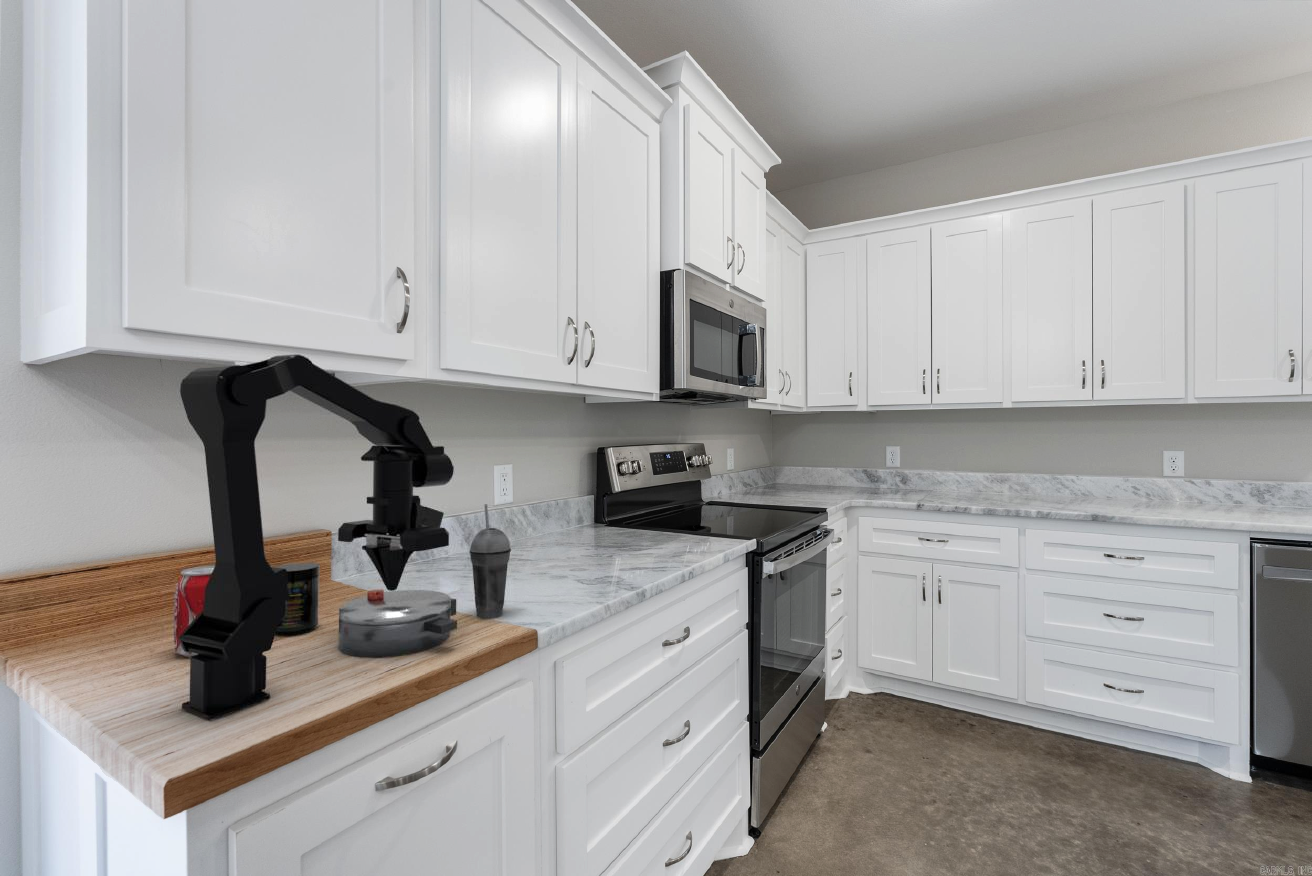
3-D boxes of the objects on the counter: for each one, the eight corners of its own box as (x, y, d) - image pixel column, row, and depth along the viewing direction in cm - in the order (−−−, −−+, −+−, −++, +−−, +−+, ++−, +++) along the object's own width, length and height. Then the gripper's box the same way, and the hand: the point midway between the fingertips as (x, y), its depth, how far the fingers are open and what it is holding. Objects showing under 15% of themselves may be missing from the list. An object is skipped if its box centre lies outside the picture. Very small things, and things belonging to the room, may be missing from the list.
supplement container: (322, 631, 96) (323, 567, 96) (273, 640, 91) (274, 573, 91) (314, 621, 101) (315, 560, 101) (267, 629, 96) (268, 565, 96)
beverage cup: (519, 613, 107) (520, 503, 107) (487, 623, 101) (489, 506, 101) (491, 606, 111) (492, 500, 111) (459, 616, 104) (461, 503, 105)
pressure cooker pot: (403, 669, 80) (404, 636, 80) (301, 642, 90) (301, 612, 90) (495, 632, 96) (496, 604, 96) (399, 612, 106) (400, 587, 106)
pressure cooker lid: (387, 631, 81) (387, 615, 81) (315, 615, 89) (315, 600, 89) (472, 603, 96) (472, 590, 96) (404, 591, 103) (404, 578, 103)
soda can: (201, 661, 82) (202, 575, 82) (160, 657, 83) (161, 573, 84) (246, 644, 89) (247, 565, 89) (207, 641, 90) (208, 563, 90)
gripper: (475, 489, 94) (474, 586, 94) (396, 484, 103) (395, 573, 103) (419, 494, 84) (418, 602, 84) (336, 488, 93) (335, 586, 93)
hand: (392, 589), depth 91 cm, fingers closed
